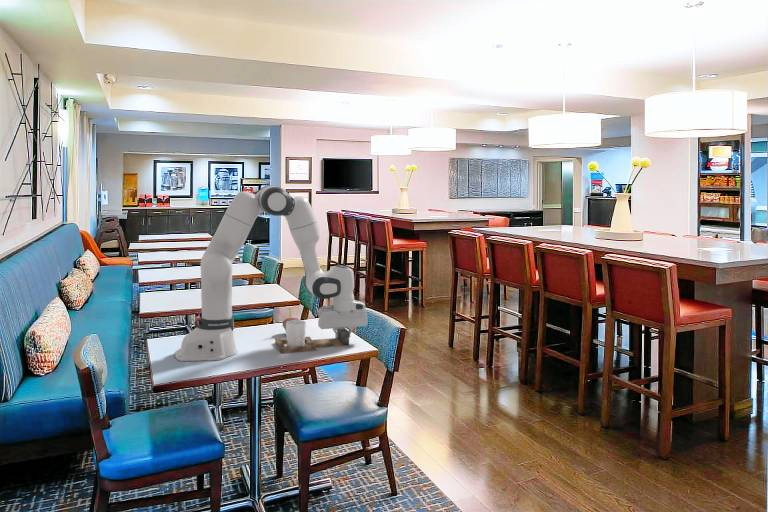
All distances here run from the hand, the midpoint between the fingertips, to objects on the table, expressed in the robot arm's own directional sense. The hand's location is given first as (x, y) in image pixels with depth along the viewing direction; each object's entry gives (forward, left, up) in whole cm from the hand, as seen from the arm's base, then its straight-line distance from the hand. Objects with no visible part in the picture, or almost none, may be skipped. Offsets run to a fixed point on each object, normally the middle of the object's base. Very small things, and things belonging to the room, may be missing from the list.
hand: (342, 337), depth 237 cm
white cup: (-19, 0, -2) cm, 20 cm away
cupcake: (-17, +18, -2) cm, 25 cm away
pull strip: (-11, 0, -2) cm, 12 cm away
